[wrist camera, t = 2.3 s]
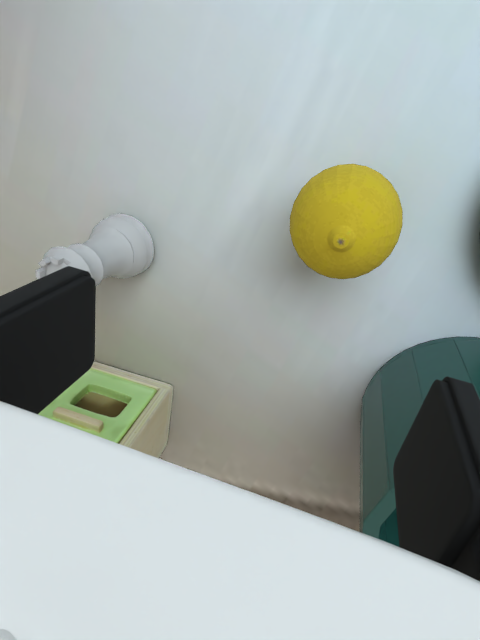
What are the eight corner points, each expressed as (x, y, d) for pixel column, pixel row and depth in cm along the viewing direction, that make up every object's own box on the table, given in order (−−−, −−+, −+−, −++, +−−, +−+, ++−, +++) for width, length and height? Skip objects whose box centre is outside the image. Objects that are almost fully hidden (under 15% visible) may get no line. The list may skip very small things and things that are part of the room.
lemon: (282, 209, 25) (252, 241, 18) (350, 136, 23) (345, 141, 16) (343, 271, 26) (337, 324, 19) (417, 207, 23) (441, 241, 16)
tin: (419, 305, 26) (453, 412, 16) (615, 389, 25) (778, 558, 15) (332, 439, 32) (319, 574, 22) (486, 511, 31) (543, 685, 21)
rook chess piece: (119, 280, 31) (48, 325, 24) (90, 224, 29) (5, 255, 22) (167, 262, 29) (106, 305, 22) (139, 202, 28) (63, 227, 21)
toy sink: (177, 379, 33) (80, 511, 22) (170, 444, 37) (83, 588, 25) (84, 350, 35) (-52, 460, 23) (85, 416, 38) (-33, 540, 27)
